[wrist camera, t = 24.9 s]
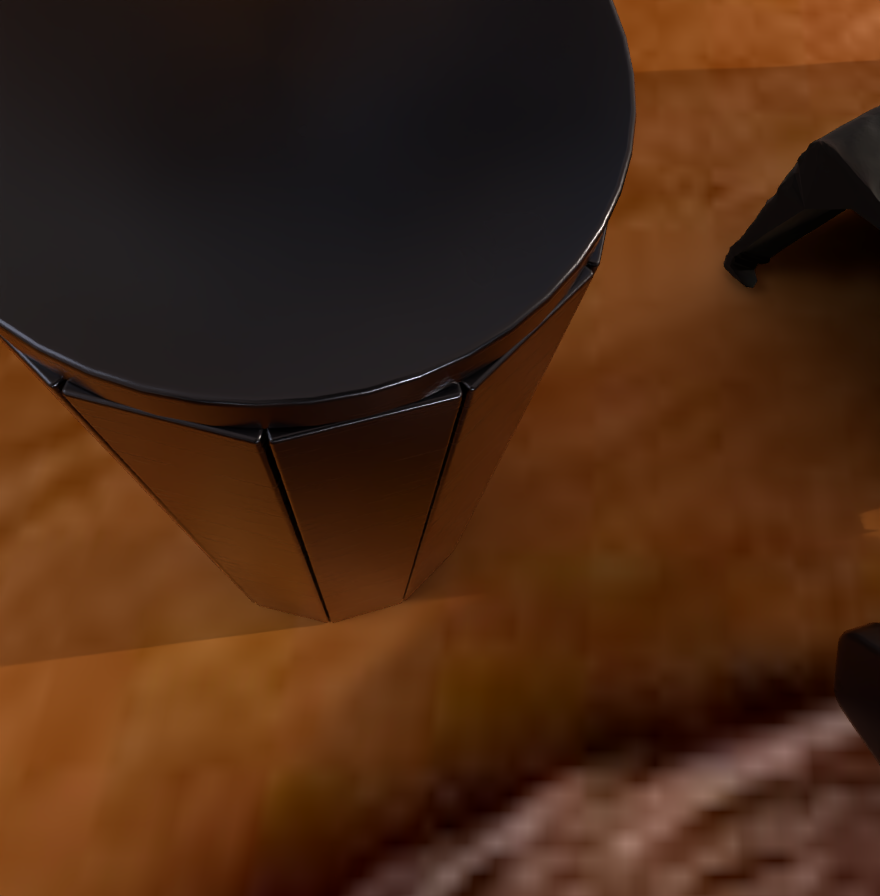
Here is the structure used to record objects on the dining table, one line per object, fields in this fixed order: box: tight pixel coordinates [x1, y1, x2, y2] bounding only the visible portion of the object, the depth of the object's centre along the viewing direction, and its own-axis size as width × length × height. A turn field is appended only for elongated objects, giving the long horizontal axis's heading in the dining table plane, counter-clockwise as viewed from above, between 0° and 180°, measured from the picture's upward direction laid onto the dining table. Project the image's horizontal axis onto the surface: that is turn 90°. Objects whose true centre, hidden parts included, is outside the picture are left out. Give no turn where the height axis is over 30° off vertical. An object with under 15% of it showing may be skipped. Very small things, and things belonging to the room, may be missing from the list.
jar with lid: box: [0, 0, 636, 623], centre depth 14 cm, size 7×7×14 cm
